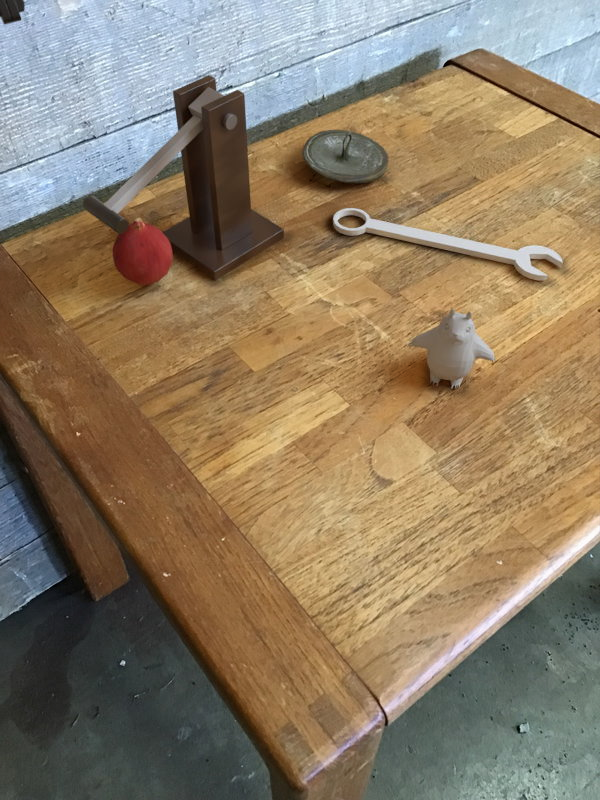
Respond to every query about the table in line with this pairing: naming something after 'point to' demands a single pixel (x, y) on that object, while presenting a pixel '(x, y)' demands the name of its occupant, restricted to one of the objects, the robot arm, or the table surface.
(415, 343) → the figurine
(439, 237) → the wrench
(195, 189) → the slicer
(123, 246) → the onion
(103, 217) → the silver and black bar
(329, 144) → the lid
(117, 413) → the table surface
